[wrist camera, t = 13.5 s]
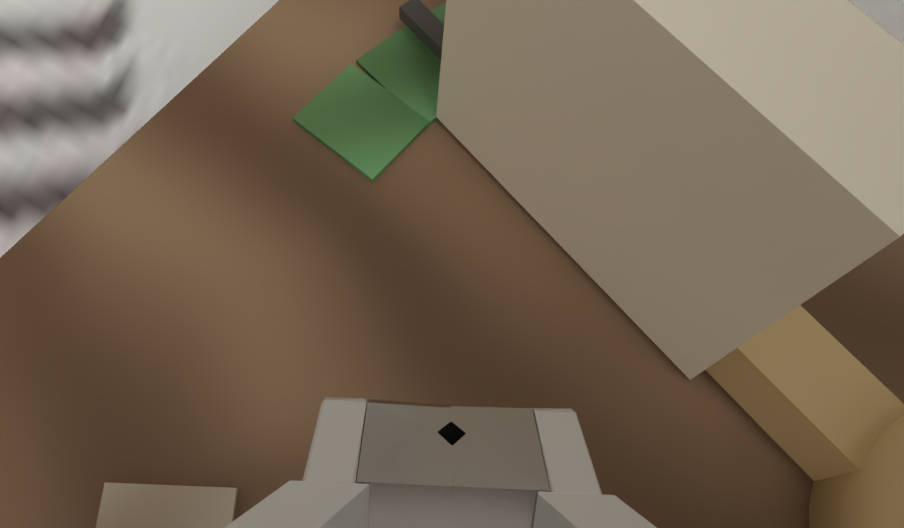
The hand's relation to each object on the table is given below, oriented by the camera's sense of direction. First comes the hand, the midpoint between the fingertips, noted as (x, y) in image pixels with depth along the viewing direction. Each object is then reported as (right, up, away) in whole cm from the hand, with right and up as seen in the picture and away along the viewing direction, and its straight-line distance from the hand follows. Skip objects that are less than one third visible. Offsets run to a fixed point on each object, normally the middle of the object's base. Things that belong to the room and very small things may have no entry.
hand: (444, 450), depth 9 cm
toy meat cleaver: (+5, +2, +7) cm, 9 cm away
